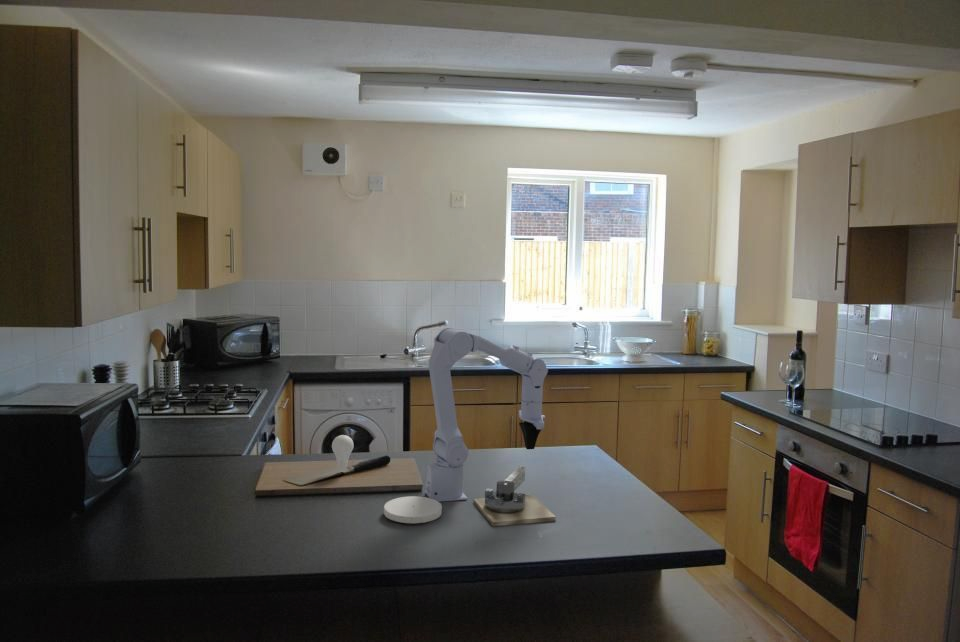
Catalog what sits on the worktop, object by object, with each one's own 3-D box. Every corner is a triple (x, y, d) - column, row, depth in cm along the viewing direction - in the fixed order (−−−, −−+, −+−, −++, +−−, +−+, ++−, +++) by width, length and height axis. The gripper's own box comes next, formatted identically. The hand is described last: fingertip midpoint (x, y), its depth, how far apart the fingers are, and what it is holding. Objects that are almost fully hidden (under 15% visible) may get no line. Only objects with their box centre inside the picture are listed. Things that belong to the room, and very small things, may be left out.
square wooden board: (492, 526, 166) (493, 520, 166) (472, 501, 182) (472, 496, 181) (555, 520, 170) (555, 515, 170) (530, 497, 186) (530, 492, 186)
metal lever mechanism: (518, 515, 170) (519, 492, 169) (479, 509, 173) (479, 486, 172) (539, 490, 188) (540, 469, 188) (503, 485, 192) (504, 464, 191)
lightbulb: (341, 477, 197) (342, 439, 196) (327, 473, 201) (327, 435, 200) (357, 472, 202) (358, 435, 201) (343, 468, 206) (343, 431, 205)
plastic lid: (449, 510, 176) (449, 500, 176) (430, 530, 163) (430, 520, 162) (397, 503, 180) (397, 493, 179) (374, 522, 166) (374, 512, 166)
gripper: (555, 405, 188) (553, 455, 189) (535, 394, 202) (533, 440, 203) (531, 406, 186) (529, 456, 187) (512, 395, 200) (510, 442, 201)
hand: (529, 448), depth 195 cm, fingers closed
